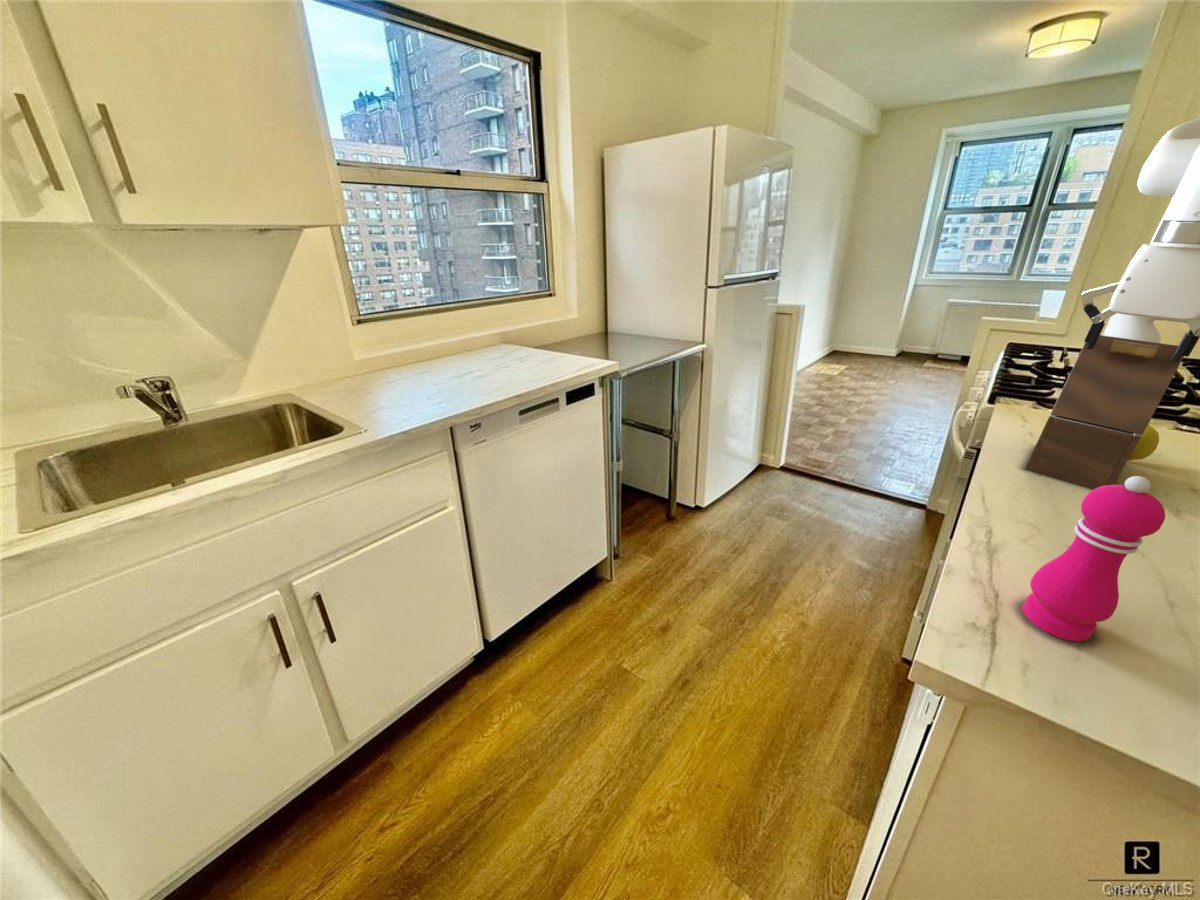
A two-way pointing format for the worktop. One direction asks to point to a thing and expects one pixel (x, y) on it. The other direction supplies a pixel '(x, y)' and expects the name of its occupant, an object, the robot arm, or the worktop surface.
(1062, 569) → the pepper mill
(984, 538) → the worktop surface
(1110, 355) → the lid
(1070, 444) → the chest
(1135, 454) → the lemon
